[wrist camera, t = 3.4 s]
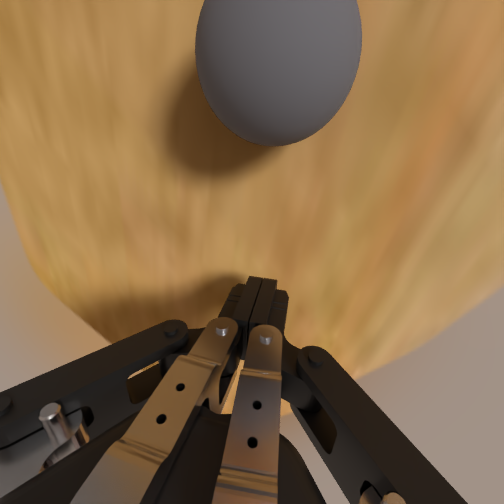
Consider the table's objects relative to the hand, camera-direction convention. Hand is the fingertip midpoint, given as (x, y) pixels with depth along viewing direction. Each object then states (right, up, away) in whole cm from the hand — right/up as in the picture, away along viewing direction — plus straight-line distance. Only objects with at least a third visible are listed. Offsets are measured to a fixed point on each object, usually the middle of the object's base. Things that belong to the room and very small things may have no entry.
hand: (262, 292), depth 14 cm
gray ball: (0, +9, -5) cm, 10 cm away
